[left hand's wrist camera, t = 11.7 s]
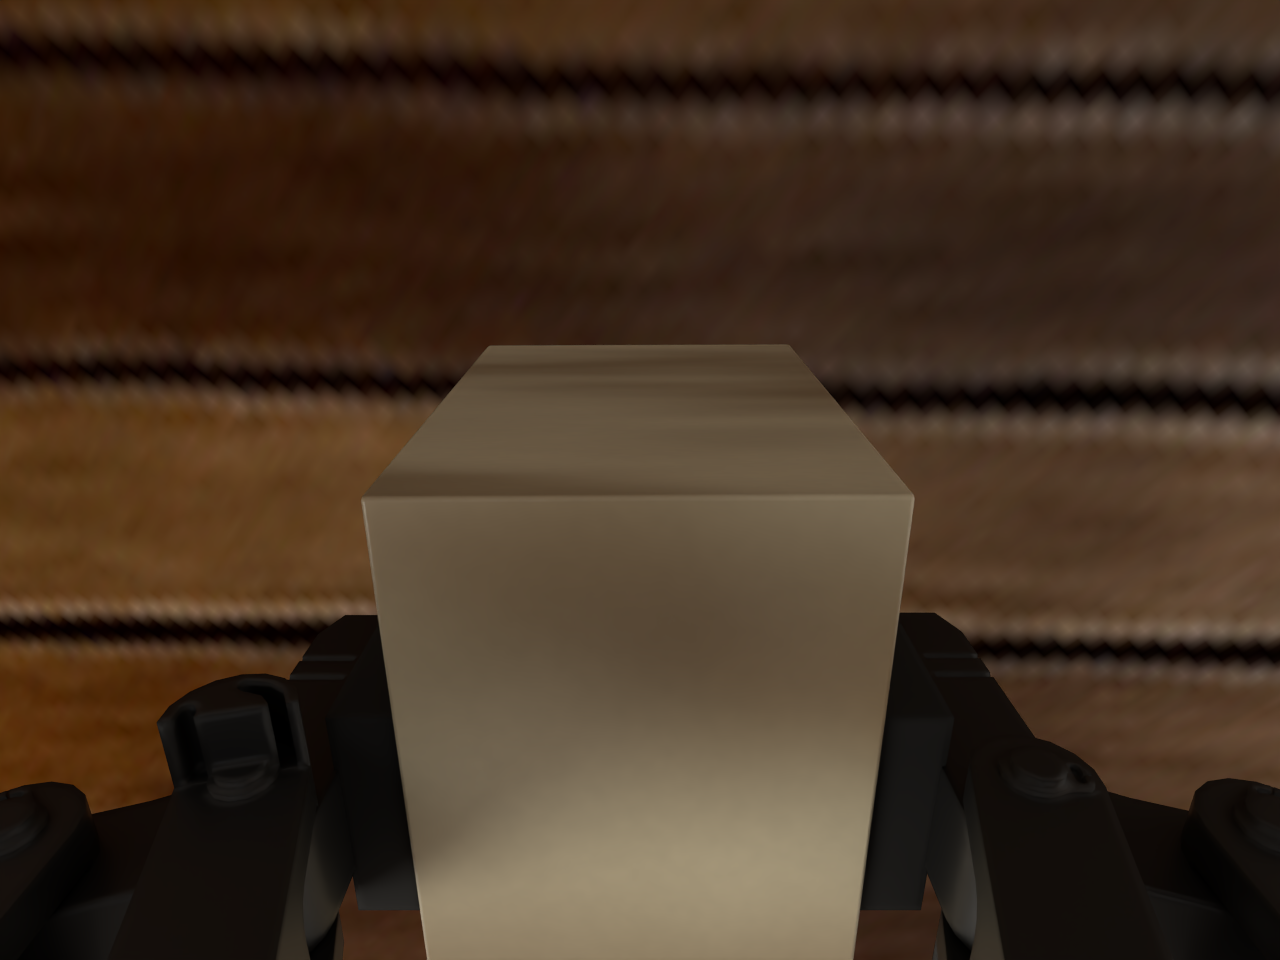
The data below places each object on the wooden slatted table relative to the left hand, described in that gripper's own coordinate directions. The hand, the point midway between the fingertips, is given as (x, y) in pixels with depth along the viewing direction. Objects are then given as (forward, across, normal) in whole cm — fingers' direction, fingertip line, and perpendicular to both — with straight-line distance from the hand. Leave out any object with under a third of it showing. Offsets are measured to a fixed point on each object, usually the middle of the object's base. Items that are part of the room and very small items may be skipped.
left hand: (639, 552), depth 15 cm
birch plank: (0, 0, +14) cm, 14 cm away
